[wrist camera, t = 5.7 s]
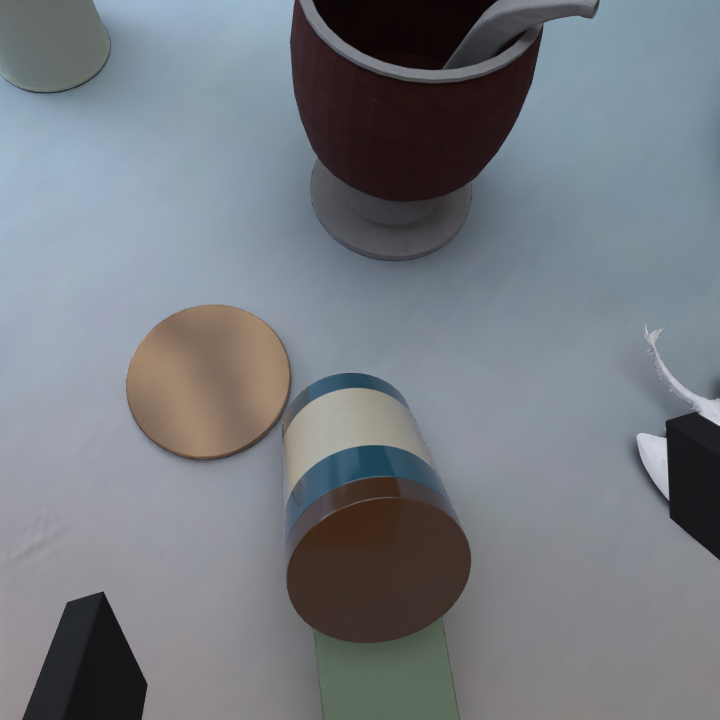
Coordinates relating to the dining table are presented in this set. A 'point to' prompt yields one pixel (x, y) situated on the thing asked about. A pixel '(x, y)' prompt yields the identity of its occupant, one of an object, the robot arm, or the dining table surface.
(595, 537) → the dining table surface
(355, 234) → the mate gourd
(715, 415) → the winged dragon toy
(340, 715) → the block
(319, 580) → the jar
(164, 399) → the coaster
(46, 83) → the can
